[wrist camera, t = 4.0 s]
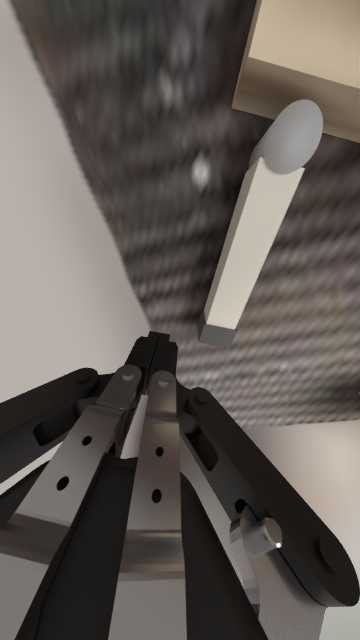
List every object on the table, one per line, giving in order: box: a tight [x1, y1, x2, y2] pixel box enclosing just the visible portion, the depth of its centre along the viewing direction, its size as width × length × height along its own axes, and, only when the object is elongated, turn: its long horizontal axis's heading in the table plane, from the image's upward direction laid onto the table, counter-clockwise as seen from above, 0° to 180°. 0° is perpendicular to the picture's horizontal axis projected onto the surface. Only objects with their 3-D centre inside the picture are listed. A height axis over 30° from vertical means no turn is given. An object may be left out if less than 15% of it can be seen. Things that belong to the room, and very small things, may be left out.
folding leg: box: [197, 99, 323, 348], centre depth 15 cm, size 18×4×4 cm, turn 169°
